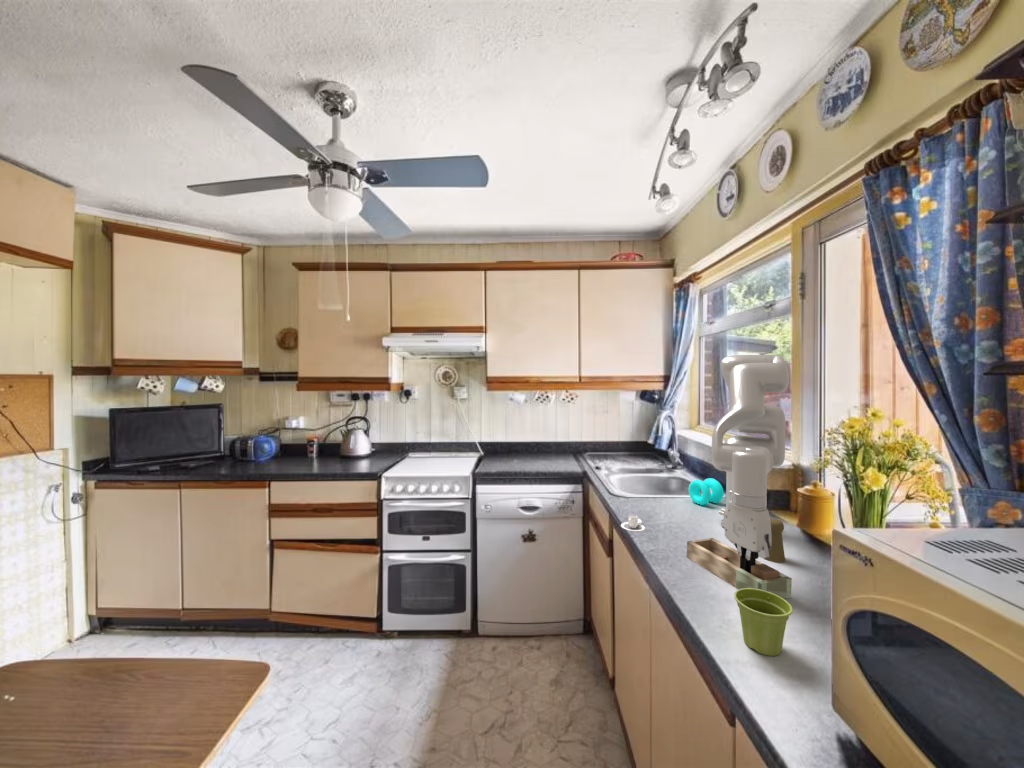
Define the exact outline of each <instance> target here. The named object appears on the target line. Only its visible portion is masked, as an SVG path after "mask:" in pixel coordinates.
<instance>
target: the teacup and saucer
mask: <svg viewBox="0 0 1024 768" xmlns="http://www.w3.org/2000/svg"><path fill="white" fill-rule="evenodd" d="M627 517H628V521H625V522H622V523H621V524H620V527H621V528H622V529H624V530H626V531H630V532H641V531H644V530H646V527H645V526H644V525H643V520H642V519H641V518H639V517H638V515H635V514H629V515H627ZM625 525H628V526H629V528H632V529H629V528H627V527H625ZM638 526H639V527H641V528H639V529H636V528H637V527H638Z"/></svg>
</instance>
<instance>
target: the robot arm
mask: <svg viewBox="0 0 1024 768" xmlns="http://www.w3.org/2000/svg"><path fill="white" fill-rule="evenodd" d="M721 359H722V360H721V361H720V370H721V371H720V372H721V375H722V377H723V380H724V382H725V384H726V386H727V389H728V395H729V397H728V400H729V402H728V412H727V413H725V414H724V415H723V416H722V417H721V418H720V419H719V420H718V422H717V423H716V425H715V426H714V428H713V431H712V436H711V454H710V455H711V456H710V457H711V463H712V466H713V468H715V469H716V470H718V471H721V472H725V474H726V476H725V477H726V478H725V479H726V480H725V481H726V482H725V483H726V487H725V489H726V490H725V500H726V501H725V507H722V508H721V509H720V510H718V514H719V515H721V516H723V518H722V519H721V520H720V526H721V527H722V528H724V537H725V538H726V539H727V540H728V541H729V542H730V543H731V544H733V546H734V547H735V549H736V550H737V552H738V555H739V556H740V568H741V569H743V570H745V571H746V572H748V573H750V574H751V566H753V565H755V563H756V560H758V559H759V558H760V559H764V558H769V552H768V550H770V549H771V543H772V534H771V522H770V518H771V517H770V513H769V509H768V508H767V505H768V504H767V501H768V500H767V499H768V497H767V494H768V491H767V490H768V487H767V486H768V474H769V473H770V472H771V471H772V470H773V468H774V467H775V468H776V467H781V466H782V465H783V464H784V462H785V456H786V429H787V428H786V427H787V426H786V425H787V424H786V422H787V421H786V414H785V412H784V410H783V408H781V407H780V406H777V405H771V404H769V405H767V404H766V405H765V393H767V392H770V393H783V392H785V391H786V390H787V389H788V387H789V384H790V371H789V368H788V365H787V362H786V361H785V359H784V357H783V356H782V355H779V354H738V355H737V354H736V355H735V354H734V355H729V356H725V357H723V358H721ZM730 430H732V431H735V432H738V433H747V434H759V435H767V437H766V436H765V437H763V436H755V435H731V436H728V437H727V438H725V439H724V436H725V434H726V433H727V432H728V431H730Z"/></svg>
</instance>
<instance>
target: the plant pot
mask: <svg viewBox="0 0 1024 768" xmlns="http://www.w3.org/2000/svg"><path fill="white" fill-rule="evenodd" d="M733 597H734V600H735V602H736V603H737V604H736V605H737V607H738V609H739V615H740V622H741V630H742V631H741V632H742V638H743V641H744V643H745V645H746V646H747V647H748V649H753V650H755V651H756V652H758V654H761V655H765V656H771V657H774V656H778V655H779V654H780V653H781V652H782V648H783V644H784V638H785V631H786V627H787V621H788V620H789V617H790V616H791V615H792V614H793V607H792V605H791V603H789V601H787V599H783V598H781V597H780V596H778V595H775V594H773V593H770V592H767V591H764V590H760V589H753V588H743V589H737V590H735V591H734V594H733Z"/></svg>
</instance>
